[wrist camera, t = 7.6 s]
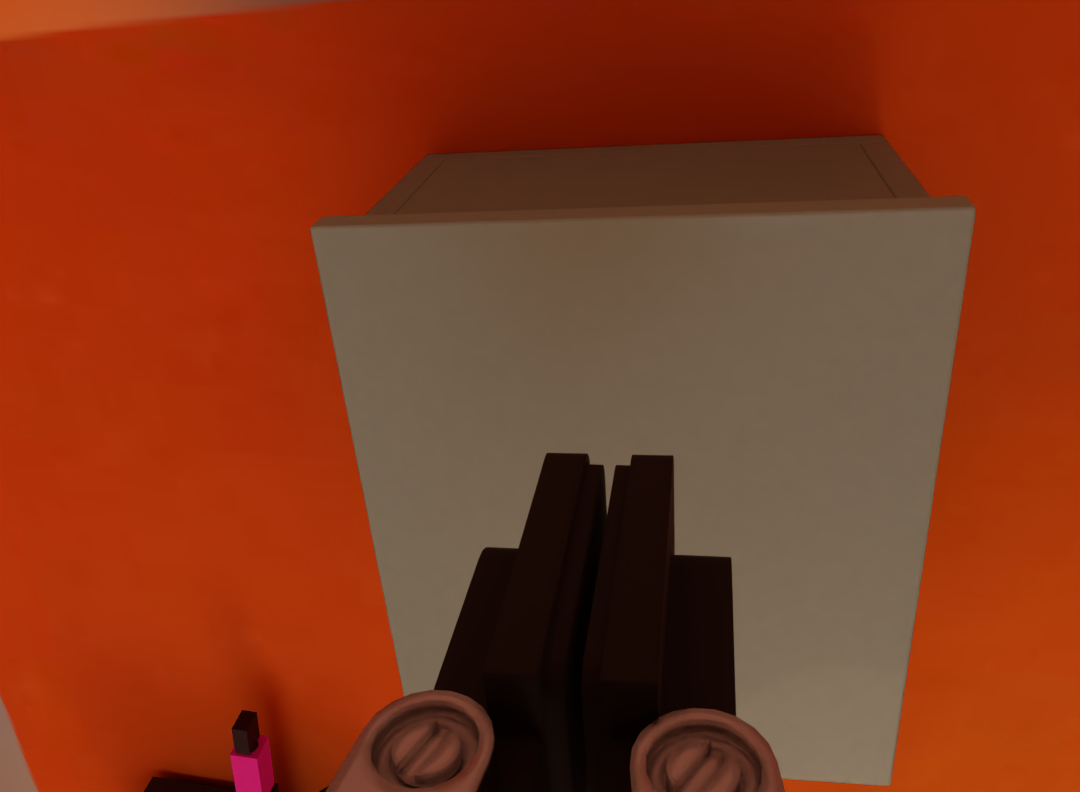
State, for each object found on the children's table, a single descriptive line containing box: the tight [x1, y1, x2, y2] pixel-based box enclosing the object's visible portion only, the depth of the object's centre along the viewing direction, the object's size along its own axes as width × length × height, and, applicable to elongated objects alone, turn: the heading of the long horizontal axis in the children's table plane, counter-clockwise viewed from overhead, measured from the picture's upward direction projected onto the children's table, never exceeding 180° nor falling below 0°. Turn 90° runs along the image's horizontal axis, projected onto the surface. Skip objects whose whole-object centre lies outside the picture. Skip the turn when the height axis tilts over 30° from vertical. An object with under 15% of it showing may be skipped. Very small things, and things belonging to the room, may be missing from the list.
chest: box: [365, 135, 930, 215], centre depth 27 cm, size 16×14×9 cm
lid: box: [310, 196, 976, 786], centre depth 23 cm, size 16×14×1 cm
